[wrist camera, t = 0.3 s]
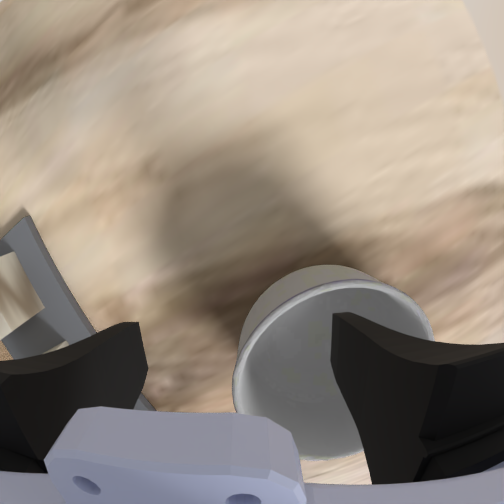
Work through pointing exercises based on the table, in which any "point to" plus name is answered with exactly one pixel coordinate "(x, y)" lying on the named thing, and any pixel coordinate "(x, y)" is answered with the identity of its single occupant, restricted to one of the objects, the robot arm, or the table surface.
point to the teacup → (312, 353)
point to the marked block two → (15, 295)
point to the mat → (46, 301)
